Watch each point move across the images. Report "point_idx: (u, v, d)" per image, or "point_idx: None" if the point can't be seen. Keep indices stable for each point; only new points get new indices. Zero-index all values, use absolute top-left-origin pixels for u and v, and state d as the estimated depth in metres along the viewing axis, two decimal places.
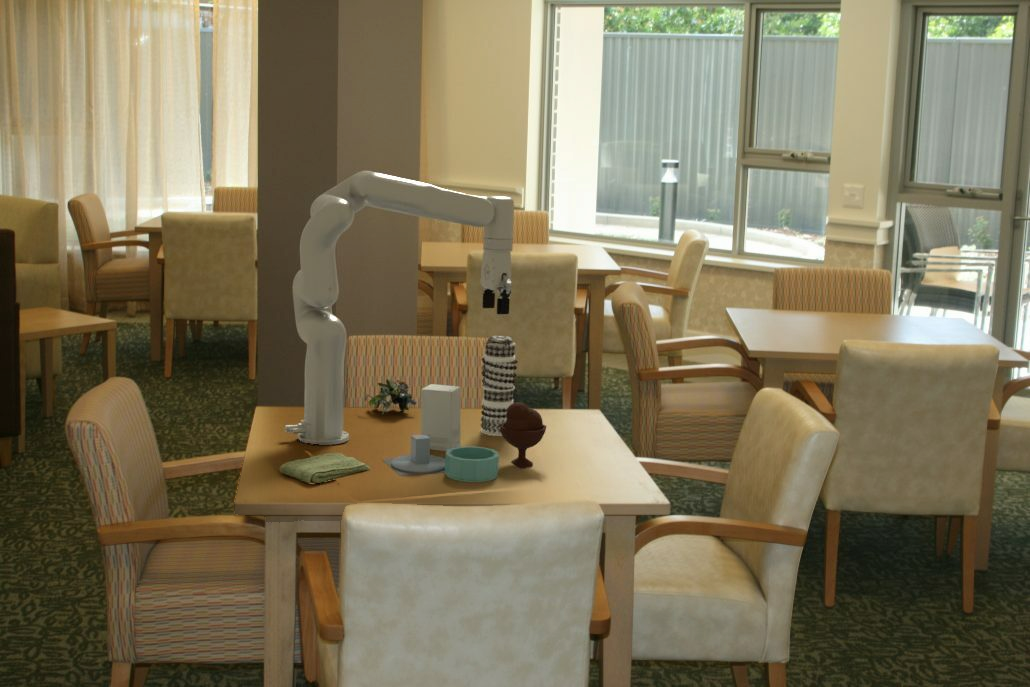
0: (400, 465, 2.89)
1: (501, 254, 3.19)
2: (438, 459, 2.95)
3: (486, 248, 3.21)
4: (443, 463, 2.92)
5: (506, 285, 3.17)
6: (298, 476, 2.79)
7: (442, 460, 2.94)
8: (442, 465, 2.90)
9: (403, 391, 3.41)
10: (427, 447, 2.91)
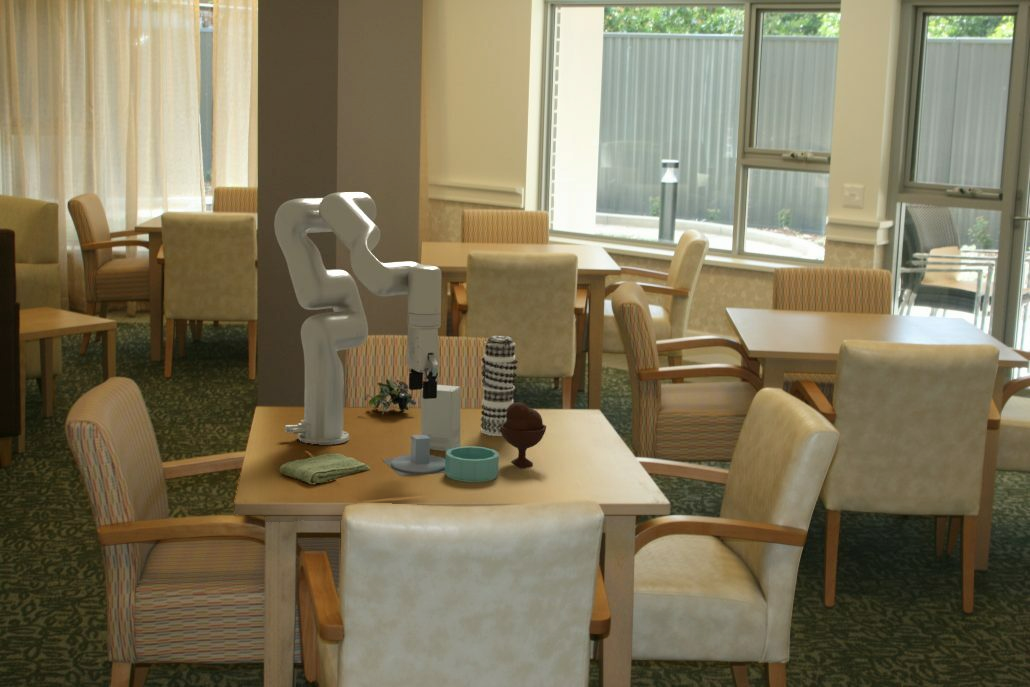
0: (400, 465, 2.89)
1: (426, 331, 2.82)
2: (438, 459, 2.95)
3: (410, 324, 2.84)
4: (443, 463, 2.92)
5: (432, 367, 2.81)
6: (298, 476, 2.79)
7: (442, 460, 2.94)
8: (442, 465, 2.90)
9: (403, 391, 3.41)
10: (427, 447, 2.91)
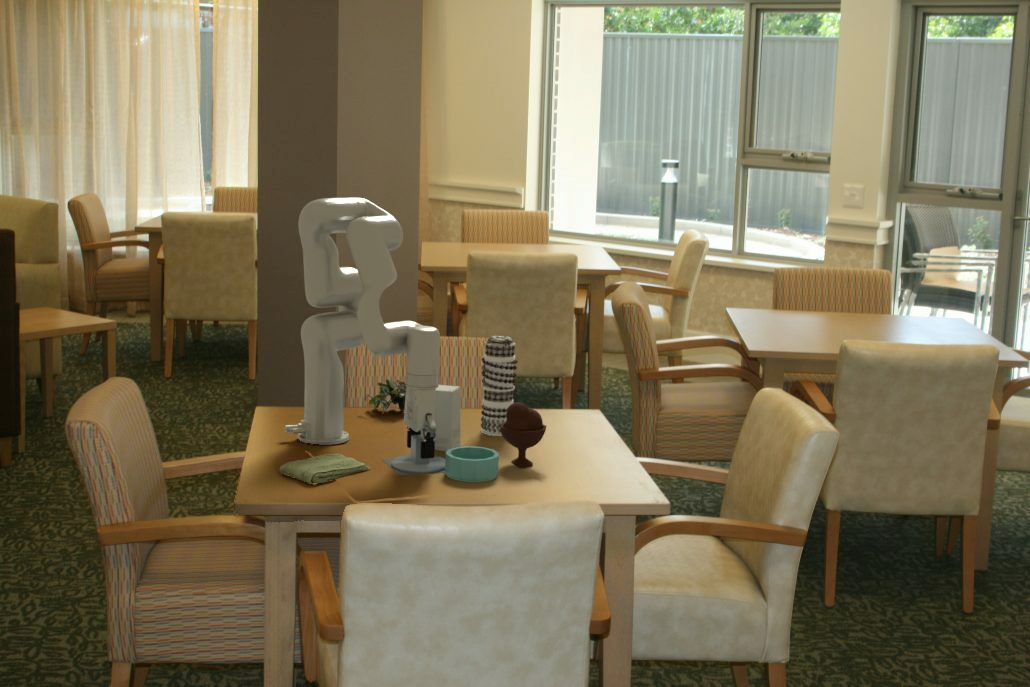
0: (400, 465, 2.89)
1: (425, 392, 2.85)
2: (438, 459, 2.95)
3: (408, 385, 2.87)
4: (443, 463, 2.92)
5: (430, 428, 2.83)
6: (298, 476, 2.79)
7: (442, 460, 2.94)
8: (442, 465, 2.90)
9: (403, 391, 3.41)
10: None
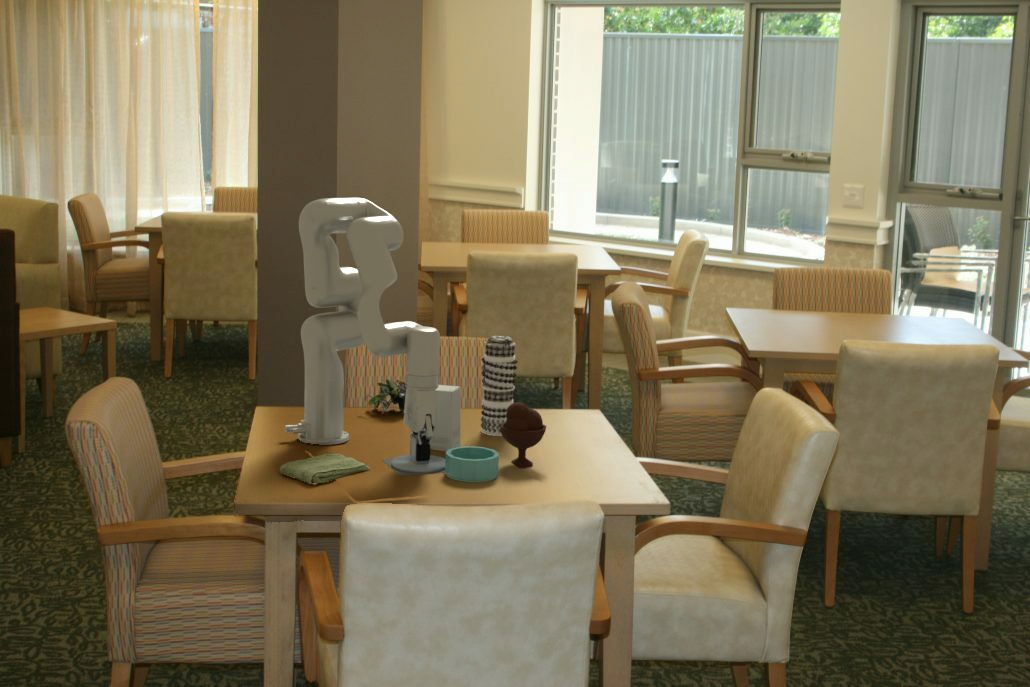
0: (400, 465, 2.89)
1: (424, 393, 2.85)
2: (438, 459, 2.95)
3: (408, 385, 2.87)
4: (443, 463, 2.92)
5: (426, 435, 2.86)
6: (299, 476, 2.79)
7: (442, 460, 2.94)
8: (442, 465, 2.90)
9: (403, 391, 3.41)
10: None
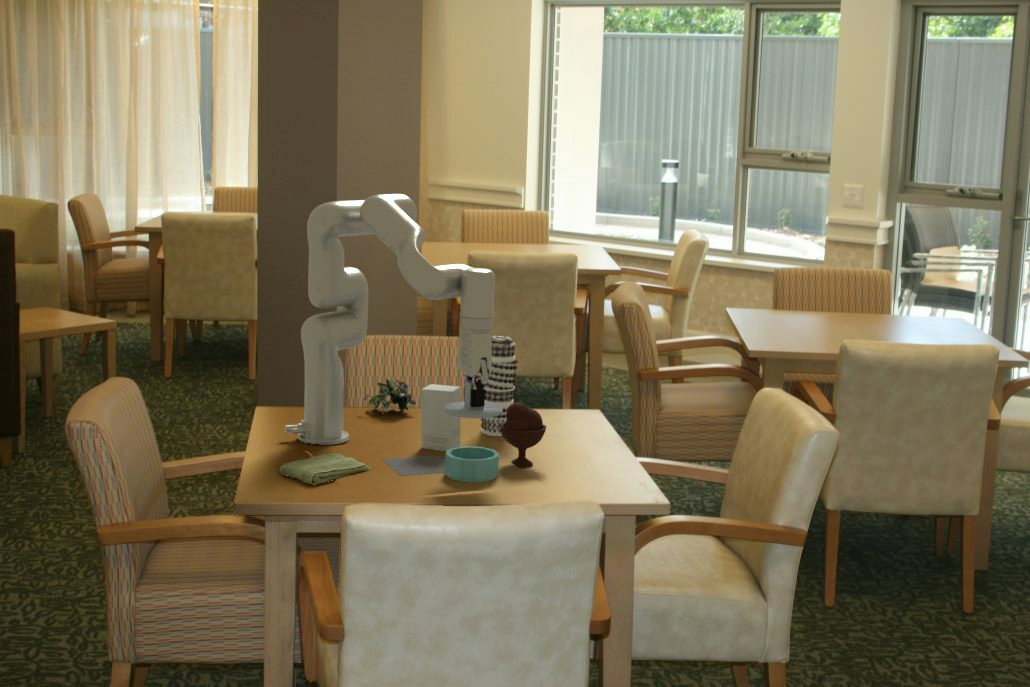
0: (454, 410, 2.81)
1: (480, 336, 2.77)
2: (492, 405, 2.87)
3: (463, 328, 2.79)
4: (498, 409, 2.84)
5: (482, 379, 2.77)
6: (299, 477, 2.79)
7: (497, 407, 2.86)
8: (497, 411, 2.82)
9: (403, 391, 3.41)
10: None
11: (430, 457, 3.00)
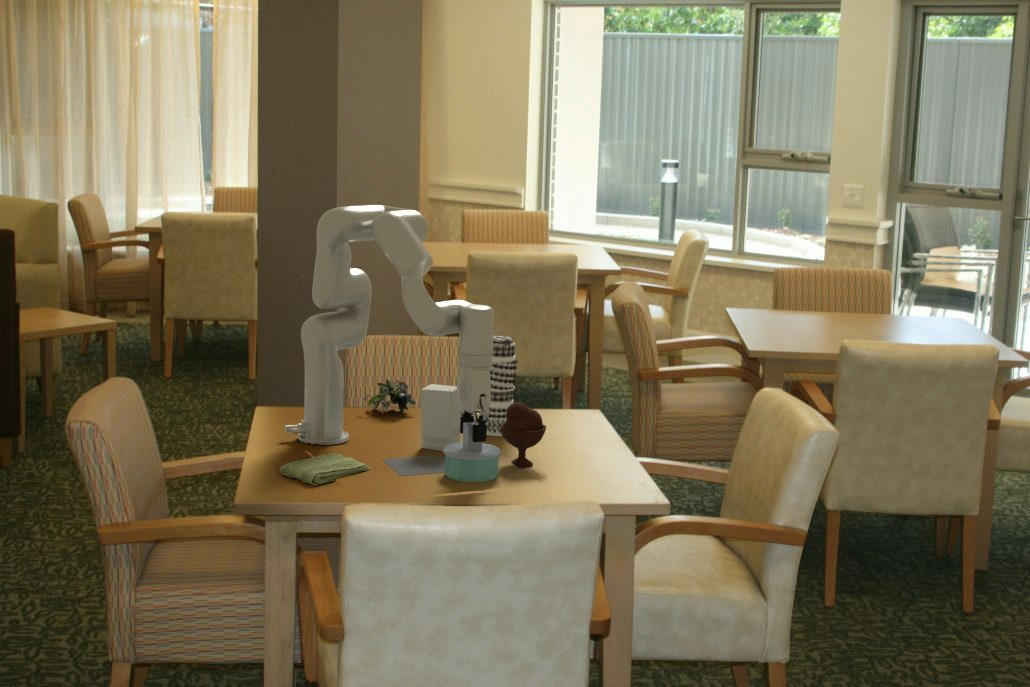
0: (452, 453, 2.83)
1: (479, 372, 2.78)
2: (490, 447, 2.89)
3: (462, 365, 2.80)
4: (496, 451, 2.86)
5: (483, 412, 2.78)
6: (299, 477, 2.78)
7: (495, 448, 2.88)
8: (495, 453, 2.84)
9: (403, 391, 3.41)
10: None
11: (430, 457, 3.00)
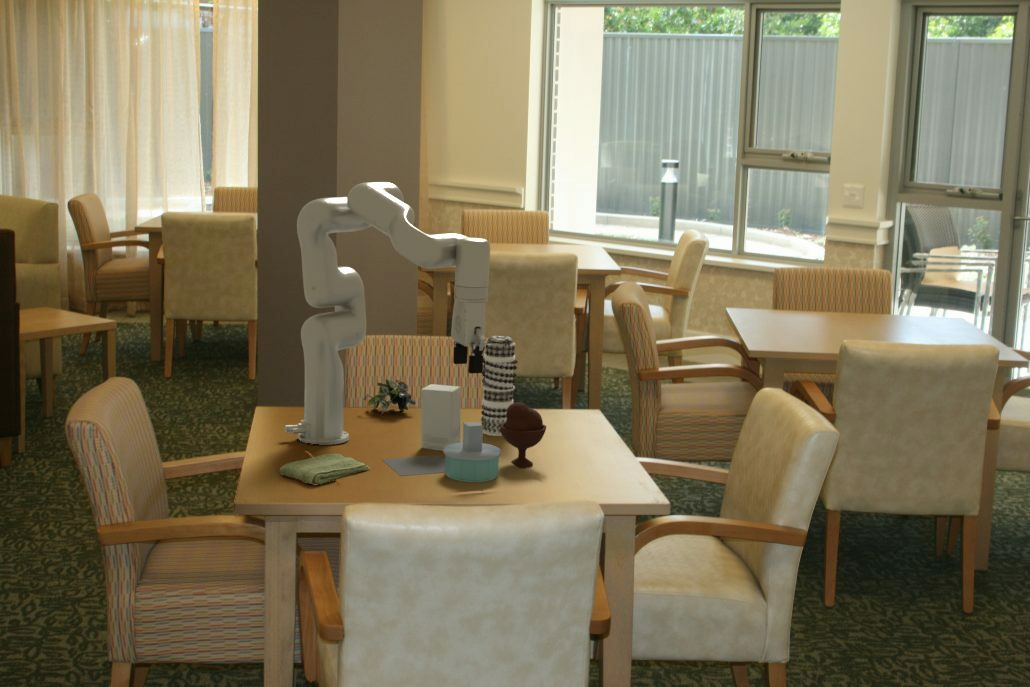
0: (452, 453, 2.83)
1: (474, 305, 2.78)
2: (490, 447, 2.89)
3: (457, 297, 2.80)
4: (496, 451, 2.86)
5: (479, 341, 2.76)
6: (299, 477, 2.78)
7: (495, 448, 2.88)
8: (495, 453, 2.84)
9: (402, 391, 3.41)
10: (480, 434, 2.84)
11: (430, 457, 3.00)
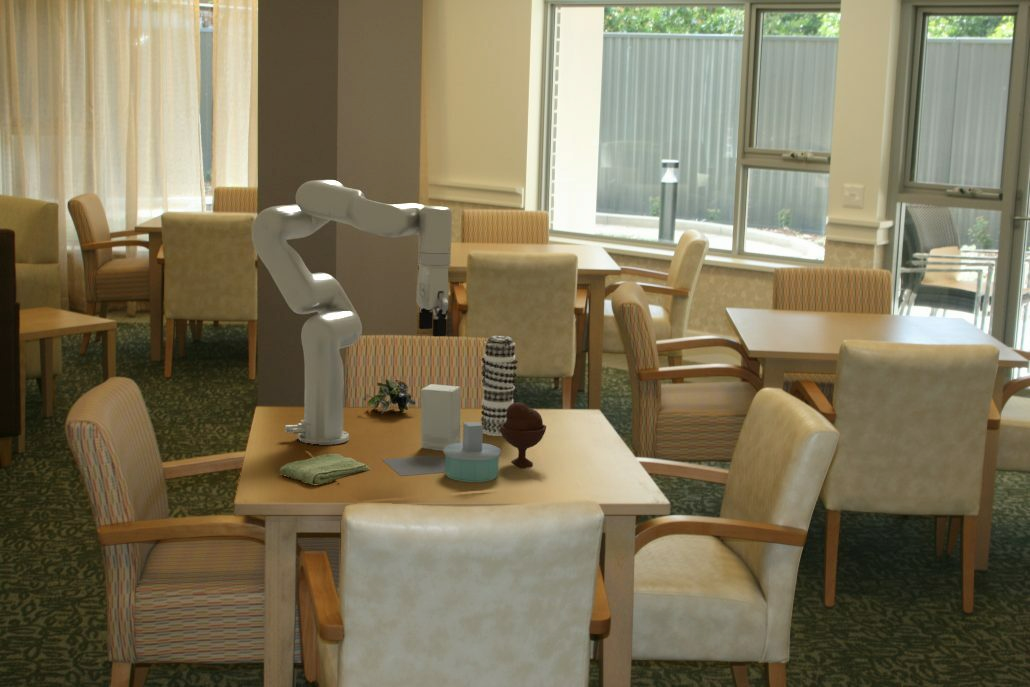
0: (452, 453, 2.83)
1: (437, 270, 2.89)
2: (490, 447, 2.89)
3: (421, 263, 2.91)
4: (496, 451, 2.86)
5: (442, 304, 2.88)
6: (299, 477, 2.78)
7: (495, 448, 2.88)
8: (495, 453, 2.84)
9: (402, 391, 3.41)
10: (480, 434, 2.84)
11: (430, 457, 3.00)
